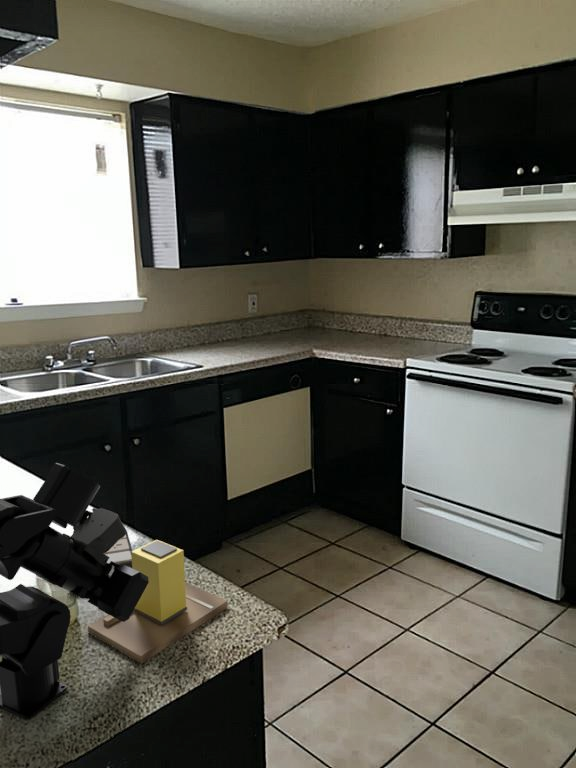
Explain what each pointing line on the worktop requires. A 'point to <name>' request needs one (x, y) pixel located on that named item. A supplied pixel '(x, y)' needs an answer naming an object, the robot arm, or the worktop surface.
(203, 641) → the worktop surface
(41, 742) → the worktop surface
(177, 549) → the yellow pillar grey top
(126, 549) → the red and grey box
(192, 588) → the subfloor panel
